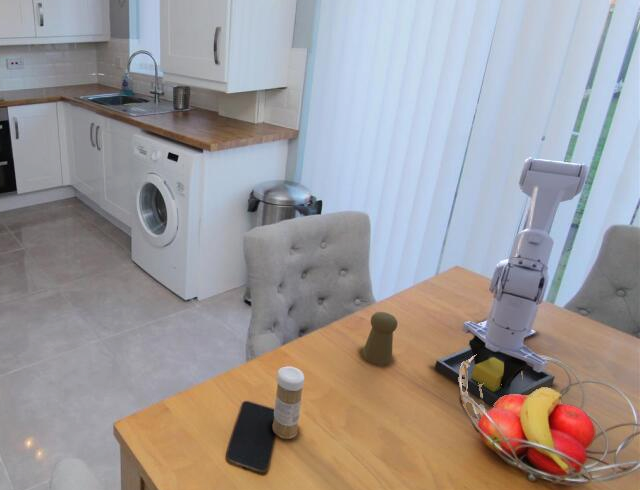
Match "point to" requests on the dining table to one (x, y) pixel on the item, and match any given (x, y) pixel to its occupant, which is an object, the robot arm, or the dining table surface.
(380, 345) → the olive pawn
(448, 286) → the dining table surface
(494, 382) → the sponge
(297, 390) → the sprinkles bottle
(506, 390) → the tray
